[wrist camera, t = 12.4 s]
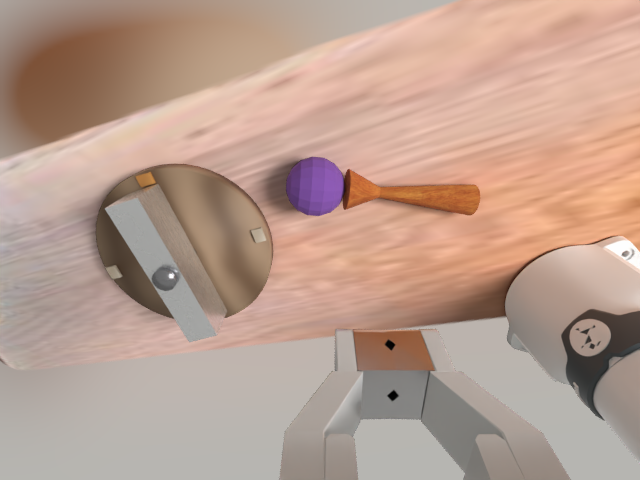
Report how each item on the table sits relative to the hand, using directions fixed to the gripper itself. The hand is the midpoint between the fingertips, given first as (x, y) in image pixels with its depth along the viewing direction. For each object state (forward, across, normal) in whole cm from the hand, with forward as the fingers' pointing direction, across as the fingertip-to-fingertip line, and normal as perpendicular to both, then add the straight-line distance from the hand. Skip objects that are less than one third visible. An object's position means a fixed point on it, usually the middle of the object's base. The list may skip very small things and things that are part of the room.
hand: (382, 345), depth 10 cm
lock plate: (+29, +18, +12) cm, 36 cm away
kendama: (+30, -4, +4) cm, 30 cm away
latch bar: (+26, +18, +12) cm, 34 cm away
